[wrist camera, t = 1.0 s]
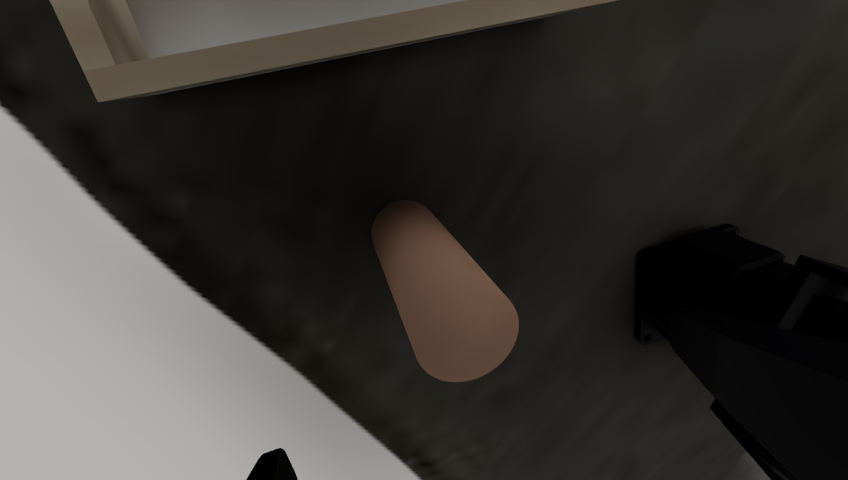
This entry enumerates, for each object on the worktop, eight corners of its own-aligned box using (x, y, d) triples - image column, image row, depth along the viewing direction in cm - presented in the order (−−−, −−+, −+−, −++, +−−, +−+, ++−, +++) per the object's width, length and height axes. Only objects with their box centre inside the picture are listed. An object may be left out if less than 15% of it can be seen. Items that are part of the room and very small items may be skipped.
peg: (441, 252, 21) (523, 362, 13) (379, 270, 21) (425, 395, 13) (430, 192, 20) (513, 273, 12) (364, 209, 20) (403, 306, 11)
